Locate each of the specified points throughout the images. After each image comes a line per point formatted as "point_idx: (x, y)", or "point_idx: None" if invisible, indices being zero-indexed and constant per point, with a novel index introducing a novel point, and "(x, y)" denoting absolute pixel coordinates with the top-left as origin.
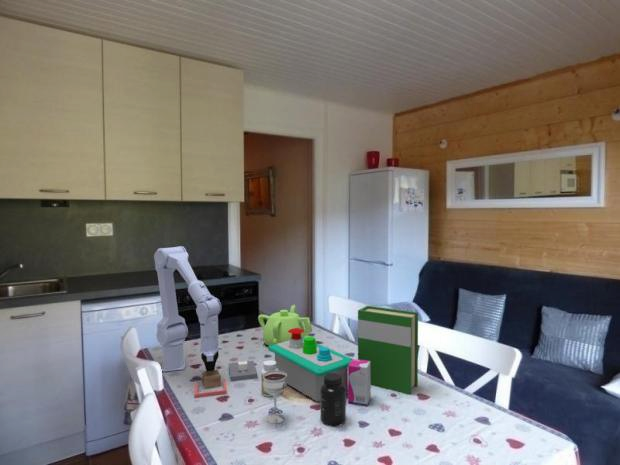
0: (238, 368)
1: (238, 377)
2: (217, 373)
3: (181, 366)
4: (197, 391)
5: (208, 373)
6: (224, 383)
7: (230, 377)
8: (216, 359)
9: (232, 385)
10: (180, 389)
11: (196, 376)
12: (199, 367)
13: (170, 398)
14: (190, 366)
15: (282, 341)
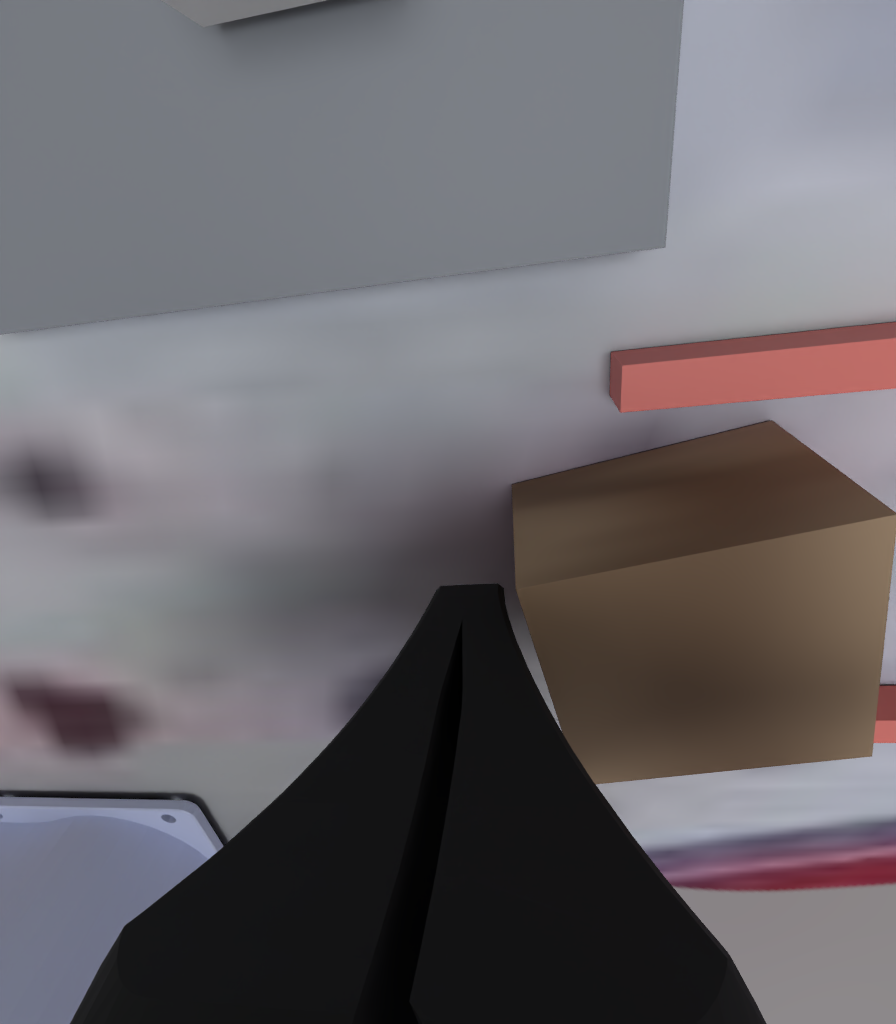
0: (264, 2)
1: (672, 3)
2: (742, 579)
3: (150, 828)
4: (888, 708)
5: (662, 714)
6: (872, 367)
7: (638, 248)
8: (684, 912)
9: (867, 181)
10: (662, 806)
11: (359, 706)
12: (108, 690)
13: (834, 855)
14: (101, 756)
15: None
